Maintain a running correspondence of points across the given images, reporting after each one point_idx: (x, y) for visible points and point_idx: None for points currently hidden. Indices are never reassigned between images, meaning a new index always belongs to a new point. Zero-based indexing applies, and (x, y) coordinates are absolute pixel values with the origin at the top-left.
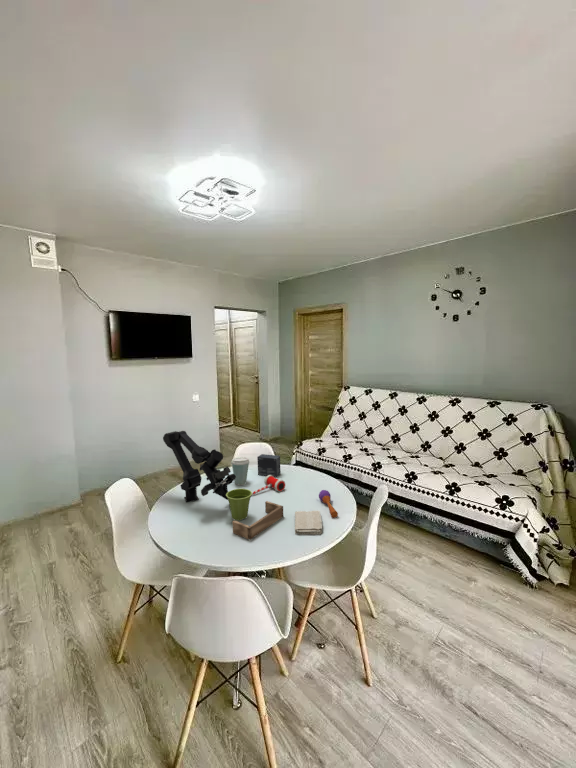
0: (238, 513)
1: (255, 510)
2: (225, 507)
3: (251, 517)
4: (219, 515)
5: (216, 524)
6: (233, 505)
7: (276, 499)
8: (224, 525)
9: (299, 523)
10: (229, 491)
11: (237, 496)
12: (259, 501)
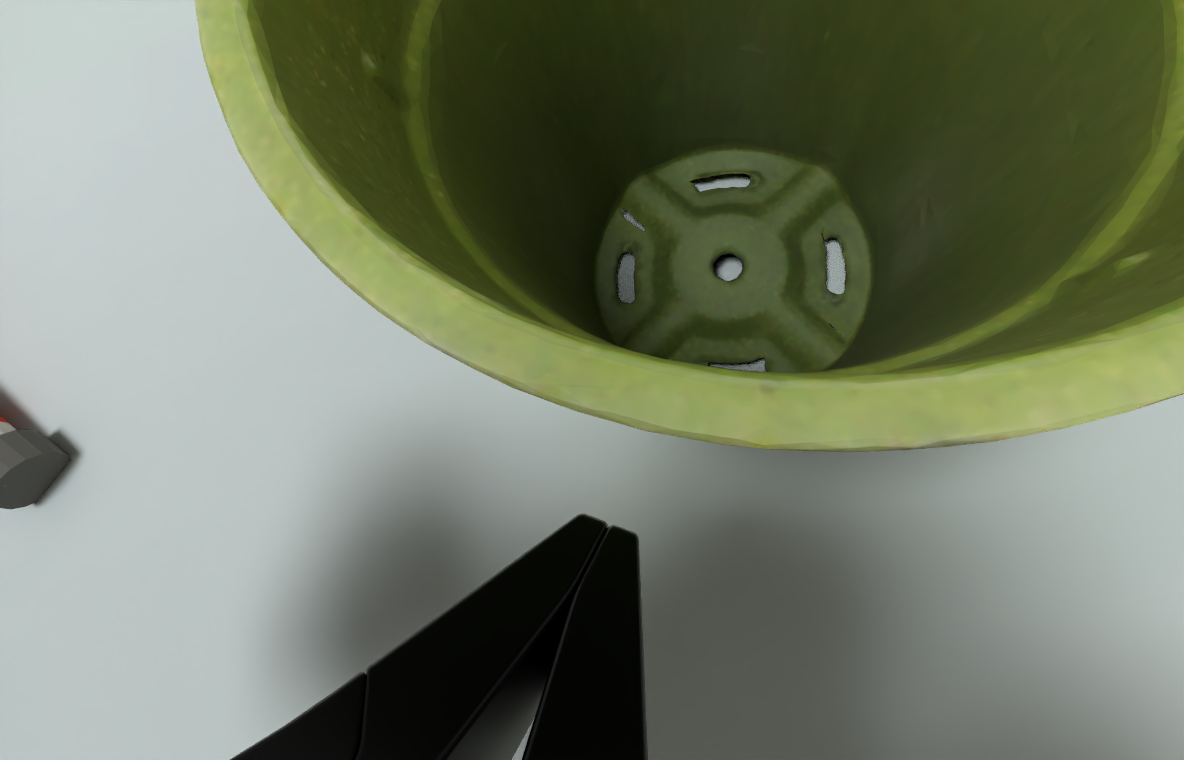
0: (932, 134)
1: None
2: None
3: None
4: (782, 685)
5: (1143, 573)
6: (1127, 81)
7: (97, 13)
8: None
9: None
10: (664, 387)
11: (486, 240)
12: (165, 205)
